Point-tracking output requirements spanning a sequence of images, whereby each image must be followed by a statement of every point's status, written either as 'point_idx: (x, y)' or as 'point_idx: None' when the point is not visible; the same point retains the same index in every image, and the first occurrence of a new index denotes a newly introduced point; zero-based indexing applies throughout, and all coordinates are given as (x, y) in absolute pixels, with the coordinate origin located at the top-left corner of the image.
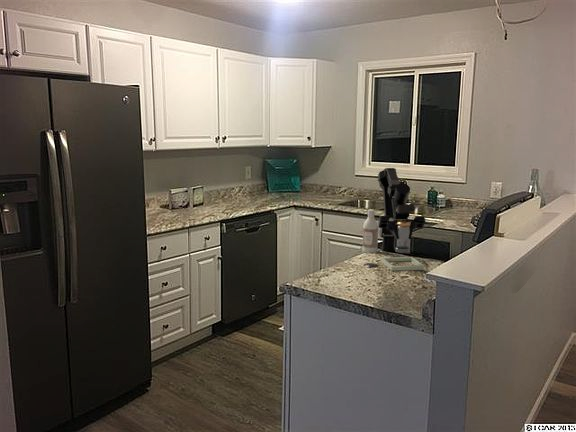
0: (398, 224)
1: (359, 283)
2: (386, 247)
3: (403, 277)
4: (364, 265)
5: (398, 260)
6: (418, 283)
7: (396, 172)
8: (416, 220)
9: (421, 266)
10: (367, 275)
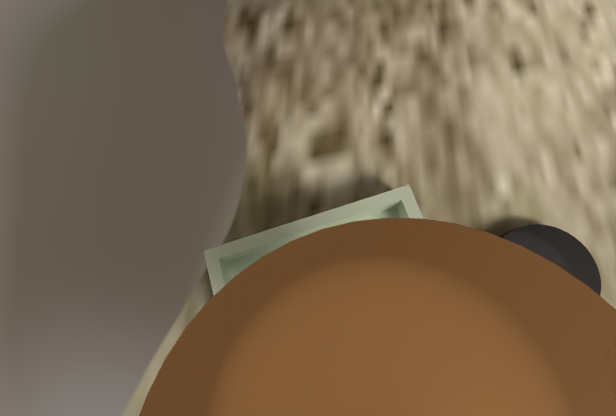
0: (585, 321)
1: (537, 5)
2: None
3: (334, 132)
4: (588, 265)
5: None
6: (268, 63)
7: None
8: None
9: (221, 246)
10: (524, 125)
